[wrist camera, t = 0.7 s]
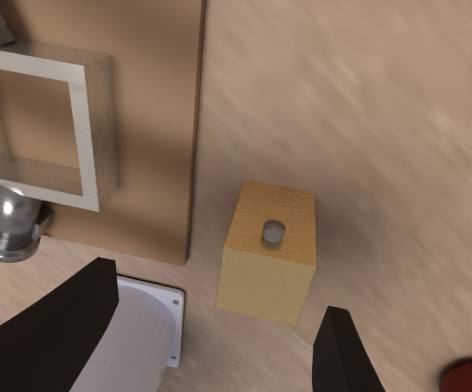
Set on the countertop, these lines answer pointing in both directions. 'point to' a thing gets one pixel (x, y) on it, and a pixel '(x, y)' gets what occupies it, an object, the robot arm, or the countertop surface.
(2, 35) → the shaft
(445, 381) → the cocoa
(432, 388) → the countertop surface
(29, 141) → the walnut base plate
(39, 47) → the hollow square frame
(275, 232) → the wooden block
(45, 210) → the shaft
